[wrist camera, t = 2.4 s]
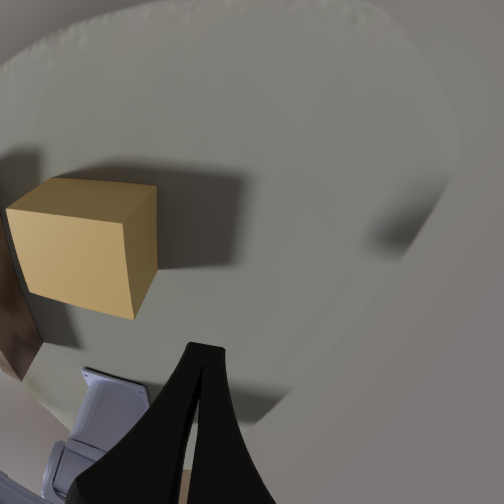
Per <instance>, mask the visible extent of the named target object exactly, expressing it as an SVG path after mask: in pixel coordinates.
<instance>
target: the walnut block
mask: <svg viewBox="0 0 504 504" xmlns="http://www.w3.org/2000/svg"><path fill="white" fill-rule="evenodd" d="M42 344H43V341H42V339H41V336H40V334H39V332H38V330H37V328H36V325H35V323H34V321H33V318H32V316H31V313H30V311H29V308H28V306H27V303H26V301H25V298H24V295H23V293H22V290H21V287H20V284H19V281H18V278H17V275H16V272H15V269H14V266H13V263H12V259H11V256H10V252H9V249H8V245H7V241H6V237H5V233H4V229H3V224H2V220H1V215H0V368H1V369H2V371H3V372H5V373H6V374H8V375H10V376H12V377H13V378H15V379H17V380H19V381H21V382H22V380H23V378H24V376H25V374H26V372H27V370H28V369H29V367H30V365H31V363H32V361H33V360H34V358H35V356H36V354H37V352H38V351H39V349H40V347H41V346H42Z"/></svg>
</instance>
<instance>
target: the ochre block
mask: <svg viewBox="0 0 504 504" xmlns="http://www.w3.org/2000/svg"><path fill="white" fill-rule="evenodd" d="M6 212H7V217H8V221H9V226H10V230H11V234H12V238H13V241H14V245H15V249H16V252H17V256H18V259H19V262H20V265H21V268H22V271H23V274H24V277H25V280H26V283H27V286H28V289H29V291H30V292H31V293H34V294H37V295H40V296H44V297H47V298H50V299H54V300H57V301H61V302H64V303H68V304H71V305H75V306H79V307H82V308H86V309H90V310H94V311H98V312H102V313H106V314H110V315H115V316H119V317H123V318H128V319H132V320H135V317H136V315H137V313H138V311H139V309H140V306H141V304H142V302H143V300H144V298H145V296H146V294H147V291H148V289H149V287H150V285H151V283H152V281H153V279H154V277H155V275H156V273H157V271H158V258H157V186H155V185H145V184H135V183H124V182H112V181H100V180H86V179H70V178H50V179H48V180H47V181H45V182H44V183H42V184H40V185H39V186H37V187H36V188H34V189H33V190H31V191H30V192H28V193H27V194H25V195H24V196H22V197H21V198H20V199H18V200H17V201H15V202H14V203H13V204H11V205H10V206H8V207H7V208H6Z"/></svg>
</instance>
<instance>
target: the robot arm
mask: <svg viewBox="0 0 504 504" xmlns="http://www.w3.org/2000/svg"><path fill="white" fill-rule="evenodd" d="M225 351H226V350H225V349H224V348H223V347H217V346H212V345H206V344H201V343H195V342H189V343H187V346H186V348H185V351H184V353H183V355H182V357H181V359H180V361H179V363H178V365H177V366H176V368H175V370H174V372H173V373H172V375H171V377H170V378H169V380H168V381H167V383H166V385H165V386H164V388H163V389H162V391H161V392H160V393H159V395H158V396H157V398H156V399H155V400H154V402H153V403H152V404H151V406H150V405H149V401H148V397H147V392H146V388H145V387H144V386H142V385H138V384H134V383H131V382H127V381H123V380H120V379H117V378H113V377H110V376H107V375H103V374H100V373H97V372H94V371H91V370H88V369H85V368H82V370H81V372H82V374H83V376H84V378H85V381H86V383H87V385H88V390H87V392H86V395H85V397H84V400H83V402H82V405H81V407H80V410H79V412H78V415H77V418H76V420H75V423H74V426H73V428H72V431H71V434H70V437H69V438H68V441H67V444H66V446H65V445H64V444H65V442H64V441H62V440H60V441H58V442H55V444H54V446H53V448H52V451H51V454H50V457H49V460H48V463H47V466H46V469H45V473H44V477H43V485H42V489H41V493H42V494H43V495H42V497H40V496H38V495H37V494H35V493H33V492H31V491H30V490H28V489H26V488H25V487H23V486H21V485H19V484H18V483H16V482H15V481H13V480H12V479H10V478H9V477H8V475H6V474H5V473H4V472H2V471H1V470H0V504H178V502H179V494H180V487H181V486H180V485H181V478H182V472H183V465H184V458H185V452H186V447H187V442H188V439H189V435H190V431H191V427H192V424H193V420H194V416H195V412H196V409H197V405H198V401H199V415H198V433H197V440H196V446H195V452H194V459H193V465H192V472H191V479H190V485H189V492H188V499H187V504H276V503H275V501H274V499H273V498H272V496H271V495H270V493H269V491H268V490H267V488H266V487H265V485H264V483H263V481H262V479H261V477H260V475H259V473H258V471H257V470H256V467H255V465H254V464H253V461H252V460H251V457H250V455H249V452H248V450H247V448H246V445H245V443H244V440H243V438H242V435H241V432H240V429H239V426H238V423H237V420H236V416H235V413H234V409H233V405H232V401H231V397H230V392H229V387H228V381H227V374H226V364H225ZM199 397H200V399H199ZM59 492H60V493H62V494H64V495H66V497H64V496H63V495H61V494H60V493H59Z"/></svg>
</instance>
